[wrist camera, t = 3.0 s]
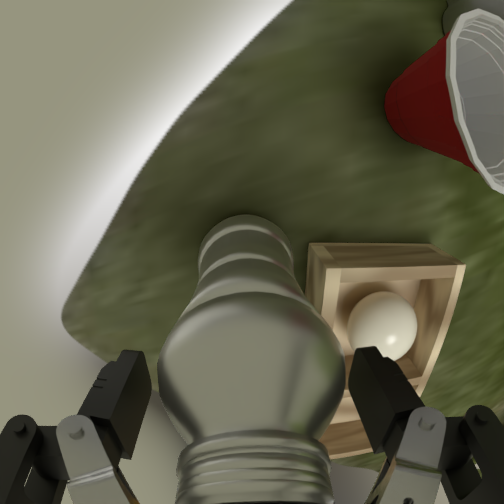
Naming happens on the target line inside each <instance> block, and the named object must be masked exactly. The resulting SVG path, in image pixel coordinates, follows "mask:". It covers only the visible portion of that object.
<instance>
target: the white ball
mask: <svg viewBox="0 0 504 504" xmlns="http://www.w3.org/2000/svg"><path fill="white" fill-rule="evenodd" d="M416 334H417V318H416V314H415V311H414V309H413V308H412V306H411V305H410V303H409V302H408V301H407V300H406V299H405V298H403V297H402V296H400V295H398V294H396V293H393V292H388V291H380V292H375V293H372V294H370V295H368V296H366V297H364V298H363V299H361V300H360V301H359V302H358V303H357V304H356V305H355V307H354V308H353V310H352V311H351V313H350V316H349V319H348V323H347V336H348V341H349V343H350V346H351V348H352V349H353V351H354V352H355V350H356V348H361V347H369V346H376V347H377V348H378V350H379V351H380V353H381V354H382V356H383V357H389V358H390V359H392V360H393V361H396V360H397V359H399V358H401V357H402V356H403V355H404V354H406V352H407V351H408V350H409V349H410V348H411V346H412V344H413V342H414V340H415V337H416Z"/></svg>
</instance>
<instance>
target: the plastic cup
mask: <svg viewBox="0 0 504 504" xmlns="http://www.w3.org/2000/svg"><path fill="white" fill-rule="evenodd" d="M384 108H385V112H386V116H387V120H388V122H389V123H390V125H391V127H392V128H393V130H394V131H395V132H396V133H397V134H398V135H399V136H400V137H402V138H403V139H404V140H406V141H407V142H410V143H413V144H416V145H419V146H422V147H423V148H426V149H429V150H431V151H434V152H436V153H439V154H442V155H444V156H447V157H449V158H452V159H454V160H457V161H459V162H462V163H463V164H464V165H466V166H469V167H471V168H472V169H473V170H474V171H476V172H478V173H480V175H481V176H482V177H483V179H484V180H485V181H486V183H487V184H488V185H489V186H490V187H491V188H492V189H494V190H496V191H498V192H500V193H502V194H504V20H503V19H501V18H500V17H499V16H497V15H494V14H492V13H489V12H487V11H484V10H481V9H479V8H478V9H475V10H472V11H469V12H467V13H464V14H461V15H460V16H459V17H458V18H457V19H456V21H455V23H454V26H453V28H452V30H451V31H449V32H448V33H446V35H445V36H444V37H443V38H442V39H440V40H439V41H438V42H437V44H436V45H435V46H433V47H432V48H431V49H430V50H428V51H427V52H426V53H425V54H423V55H422V56H421V57H420V58H419V59H417V60H416V61H415V62H414V63H412V64H411V65H410V66H409V67H408V68H406V69H405V70H404V72H403V74H401V75H400V76H399V77H398V78H397V79H395V80H394V81H393V82H392V84H391V86H390V87H389V89H388V91H387V93H386V94H385V104H384Z"/></svg>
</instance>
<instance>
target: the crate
mask: <svg viewBox="0 0 504 504" xmlns="http://www.w3.org/2000/svg"><path fill="white" fill-rule="evenodd" d="M465 267H466V264H464V263H462V262H461V261H459V260H458V259H456V258H454V257H453V256H451V255H449V254H448V253H446V252H444V251H443V250H441V249H439V248H437V247H436V246H434V245H432V244H417V243H309V247H308V261H307V275H306V287H305V297H306V298H307V299H308V300H309V301H310V303H311V304H312V305H313V306H314V307H315V309H316V310H317V311H318V312H319V314H320V315H321V316H322V317H323V318H324V319H325V321H326V322H327V323H328V325H329V326H330V327H331V329H332V330H333V332H334V334H335V335H336V337H337V338H338V340H339V342H340V344H341V347H342V349H343V352H344V355H345V366H346V385H345V390H344V395H343V398H342V400H341V402H340V405H339V407H338V409H337V411H336V413H335V415H334V417H333V419H332V421H331V423H330V425H329V426H328V428H327V429H326V431H325V432H324V434H323V435H322V437H321V438H320V440H319V441H320V442H321V443H322V444H324V445H325V447H326V448H327V450H328V453H329V457H330V459H336V458H342V457H348V456H353V455H358V454H363V453H368V452H373V449H372V447H371V444H370V442H369V439H368V437H367V434H366V432H365V429H364V427H363V424H362V422H361V419H360V417H359V414H358V412H357V409H356V407H355V405H354V402H353V400H352V397H351V395H350V392H349V388H348V377H349V373H350V369H351V365H352V361H353V356H354V351H353V349H352V348H351V346H350V343H349V341H348V336H347V323H348V319H349V316H350V313H351V311H352V310H353V308H354V307H355V305H356V304H357V303H358V302H359V301H360V300H361V299H363V298H364V297H366V296H368V295H370V294H372V293H375V292H380V291H388V292H393V293H396V294H398V295H400V296H402V297H403V298H405V299H406V300H407V301H408V302H409V303H410V305H411V306H412V308H413V309H414V311H415V314H416V318H417V334H416V337H415V340H414V342H413V344H412V346H411V348H410V349H409V350H408V351H407V352H406V354H404V355H403V356H402V357H401V358H399V359H397V360H396V361H395V362H396V363H397V364H398V365H399V367H400V368H401V370H402V371H403V374H405V376H406V377H407V379H408V381H409V382H410V383H411V385H412V387H413V388H414V390H415V391H416V393H417V394H418V396H419V397H420V396H421V394H422V392H423V390H424V387H425V385H426V383H427V381H428V379H429V376H430V374H431V372H432V369H433V367H434V364H435V362H436V360H437V357H438V355H439V352H440V349H441V347H442V344H443V341H444V339H445V336H446V333H447V330H448V327H449V324H450V321H451V318H452V315H453V312H454V308H455V305H456V302H457V298H458V295H459V291H460V287H461V284H462V280H463V276H464V271H465Z"/></svg>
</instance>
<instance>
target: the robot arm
mask: <svg viewBox="0 0 504 504" xmlns="http://www.w3.org/2000/svg"><path fill="white" fill-rule="evenodd" d="M447 3H448V8H447V9H446V11H445V12H444V15H443V29H444V33H445V35H446V33H448V32H449V31H451V30H452V28H453V26H454V23H455V21H456V19H457V18H458V17H459V16H460V15H461V14H464V13H467V12H469V11H472V10H475V9H478V8H479V9H481V10H484V11H487V12H489V13H492V14H494V15H497V16H499V17H500V18H501V19H503V20H504V0H447ZM348 388H349V392H350V395H351V397H352V400H353V402H354V405H355V407H356V409H357V412H358V414H359V417H360V419H361V422H362V424H363V427H364V429H365V432H366V434H367V437H368V439H369V442H370V444H371V447H372V449H373V452H374V454H377V453H381V452H385V453H386V456H387V457H386V459H385V461H384V463H383V466H382V468H381V470H380V472H379V475H378V477H377V479H376V481H375V483H374V486H373V487H372V489H371V491H370V494H369V495H368V498H367V499H366V501H365V503H364V504H434V502H435V499H436V495H437V492H438V488H439V484H440V481H441V483H442V485H443V488H444V490H445V493H446V495H447V498H448V500H449V503H450V504H504V427H503V425H502V424H501V422H500V421H499V419H498V418H497V416H496V415H495V414H494V412H493V411H492V410H491V409H489V408H488V407H486V406H482V405H475V406H472V407H470V408H469V409H468V410H467V412H466V414H465V415H464V416H463V417H444V415H443V414H442V413H441V412H440V411H439V410H437V409H435V408H432V407H425V405H424V404H423V402H422V401H421V399H420V397H419V396H418V394H417V393H416V391H415V390H414V388H413V387H412V385H411V383H410V382H409V381H408V379H407V377H406V376H405V374H403V371H402V370H401V368H400V367H399V365H398V364H397V363H396V362H395V361H393V360H392V359H390V358H389V357H383V356H382V354H381V353H380V351H379V350H378V348H377V347H376V346H369V347H361V348H356V350H355V352H354V356H353V361H352V365H351V369H350V373H349V377H348ZM151 390H152V385H151V379H150V375H149V371H148V367H147V364H146V360H145V356H144V353H143V352H142V351H134V350H123V351H122V352H121V354H120V356H119V358H118V359H117V361H116V362H115V361H111V362H109V363H108V364H107V365H106V366H104V367H103V368H102V369H101V371H100V373H99V375H98V377H97V380H95V382H94V384H93V387H92V388H91V389H90V391H89V393H88V395H87V397H86V398H85V400H84V402H83V404H82V406H81V408H80V410H79V412H78V414H77V415H71V416H68V417H66V418H64V419H63V420H62V421H61V422H60V423H59V424H58V426H38V425H37V424H36V422H35V421H34V419H33V418H31V417H30V416H28V415H17V416H15V417H13V418H11V419H10V420H9V421H8V422H7V424H6V426H5V427H4V429H3V431H2V433H1V434H0V504H61V501H62V497H63V494H64V490H65V487H66V484H67V487H68V491H69V493H70V496H71V499H72V501H73V504H140V503H139V501H138V500H137V498H136V496H135V495H134V493H133V491H132V489H131V488H130V486H129V484H128V482H127V481H126V479H125V477H124V475H123V473H122V471H121V470H120V468H119V466H118V464H119V462H120V458H124V459H130V460H131V458H132V455H133V451H134V448H135V444H136V441H137V438H138V434H139V431H140V428H141V424H142V421H143V418H144V415H145V412H146V409H147V405H148V402H149V399H150V396H151ZM473 456H474V458H475V460H476V462H477V464H478V466H479V468H480V470H481V472H482V479H481V477H480V475H479V473H478V471H477V469H476V467H475V465H474V463H473V461H472V459H471V458H472V457H473ZM31 467H32V469H31ZM30 469H31V472H30ZM29 472H30V474H29ZM28 474H29V477H28ZM27 477H28V480H27V482H26V479H27ZM68 480H70V482H67V481H68ZM25 482H26V485H25ZM24 485H25V487H24Z"/></svg>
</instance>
